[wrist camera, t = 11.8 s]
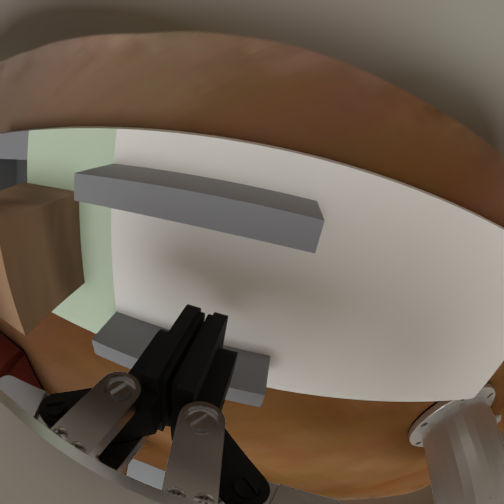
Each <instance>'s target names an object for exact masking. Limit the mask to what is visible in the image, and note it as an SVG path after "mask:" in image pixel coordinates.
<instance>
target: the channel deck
mask: <svg viewBox="0 0 504 504" xmlns="http://www.w3.org/2000/svg"><path fill="white" fill-rule="evenodd" d="M24 182H25V183H31V184H37V185H43V186H49V187H54V188H60V189H66V190H71V191H74V201H79V218H80V239H81V252H82V263H83V272H84V280H85V283H84V284H83V285H82V286H81V287H79V288H78V289H77V290H76V291H75V292H73V293H72V294H71V295H70V296H69V297H68V298H66V299H65V300H64V301H63V302H62V303H61V304H60V305H59V306H57V307H56V308H55V309H54V310H53V311H52V312H53V313H55V314H57V315H58V316H60V317H62V318H64V319H66V320H68V321H70V322H72V323H74V324H77V325H79V326H81V327H83V328H85V329H87V330H89V331H92V332H94V333H96V335H95V336H94V337H93V339H92V343H93V347H94V351H95V354H97V355H99V356H101V357H104V358H106V359H108V360H110V361H113V362H115V363H117V364H120V365H122V366H124V367H127V368H129V369H132V367H133V366H134V364H135V363H136V362H137V360H138V359H139V357H140V356H141V354H142V353H143V352H144V350H145V349H146V347H147V346H148V345H149V343H150V342H151V340H152V339H153V338H154V336H155V335H156V333H157V332H158V331H159V330H160V329H163V330H166V331H169V330H170V328H171V327H172V326H173V324H174V323H175V321H176V320H177V318H178V317H179V315H180V314H181V312H182V311H183V309H184V308H185V306H186V305H187V304H189V305H192V306H196V307H199V308H201V312H204V313H205V319H206V317H207V315H208V314H211V315H213V314H214V312H217V313H220V314H224V315H228V321H227V327H226V332H225V338H224V343H223V348H224V349H228V350H231V351H235V352H238V355H237V360H236V364H235V368H234V372H233V375H232V379H231V382H230V385H229V389H228V392H227V395H226V398H225V400H229V401H234V402H238V403H242V404H247V405H252V406H257V407H260V406H261V404H262V402H263V399H264V397H265V392H266V387H268V388H274V389H279V390H285V391H291V392H297V393H303V394H310V395H318V396H325V397H334V398H344V399H356V400H370V401H394V402H426V401H449V400H462V399H473V398H474V397H475V396H476V395H477V394H478V392H479V391H480V390H481V389H482V388H483V386H484V385H485V384H486V383H487V382H488V380H489V379H490V378H491V377H492V375H493V374H494V373H495V371H496V370H497V369H498V367H499V366H500V365H501V363H502V362H503V361H504V227H502V226H500V225H498V224H496V223H494V222H492V221H490V220H488V219H486V218H484V217H482V216H480V215H478V214H476V213H474V212H472V211H470V210H468V209H466V208H464V207H461V206H459V205H457V204H455V203H453V202H450V201H448V200H446V199H443V198H441V197H439V196H436V195H434V194H431V193H429V192H426V191H424V190H421V189H419V188H416V187H414V186H411V185H408V184H406V183H403V182H400V181H397V180H395V179H392V178H389V177H386V176H383V175H380V174H377V173H374V172H371V171H368V170H365V169H361V168H358V167H355V166H351V165H348V164H345V163H341V162H338V161H334V160H330V159H327V158H323V157H319V156H315V155H311V154H307V153H303V152H299V151H295V150H290V149H286V148H281V147H277V146H272V145H267V144H262V143H257V142H251V141H246V140H240V139H234V138H228V137H222V136H215V135H208V134H200V133H192V132H183V131H174V130H163V129H150V128H134V127H107V126H76V127H50V128H36V129H24V130H15V131H7V132H1V133H0V190H3V189H6V188H9V187H12V186H15V185H17V184H20V183H24ZM204 321H205V320H204Z"/></svg>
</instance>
